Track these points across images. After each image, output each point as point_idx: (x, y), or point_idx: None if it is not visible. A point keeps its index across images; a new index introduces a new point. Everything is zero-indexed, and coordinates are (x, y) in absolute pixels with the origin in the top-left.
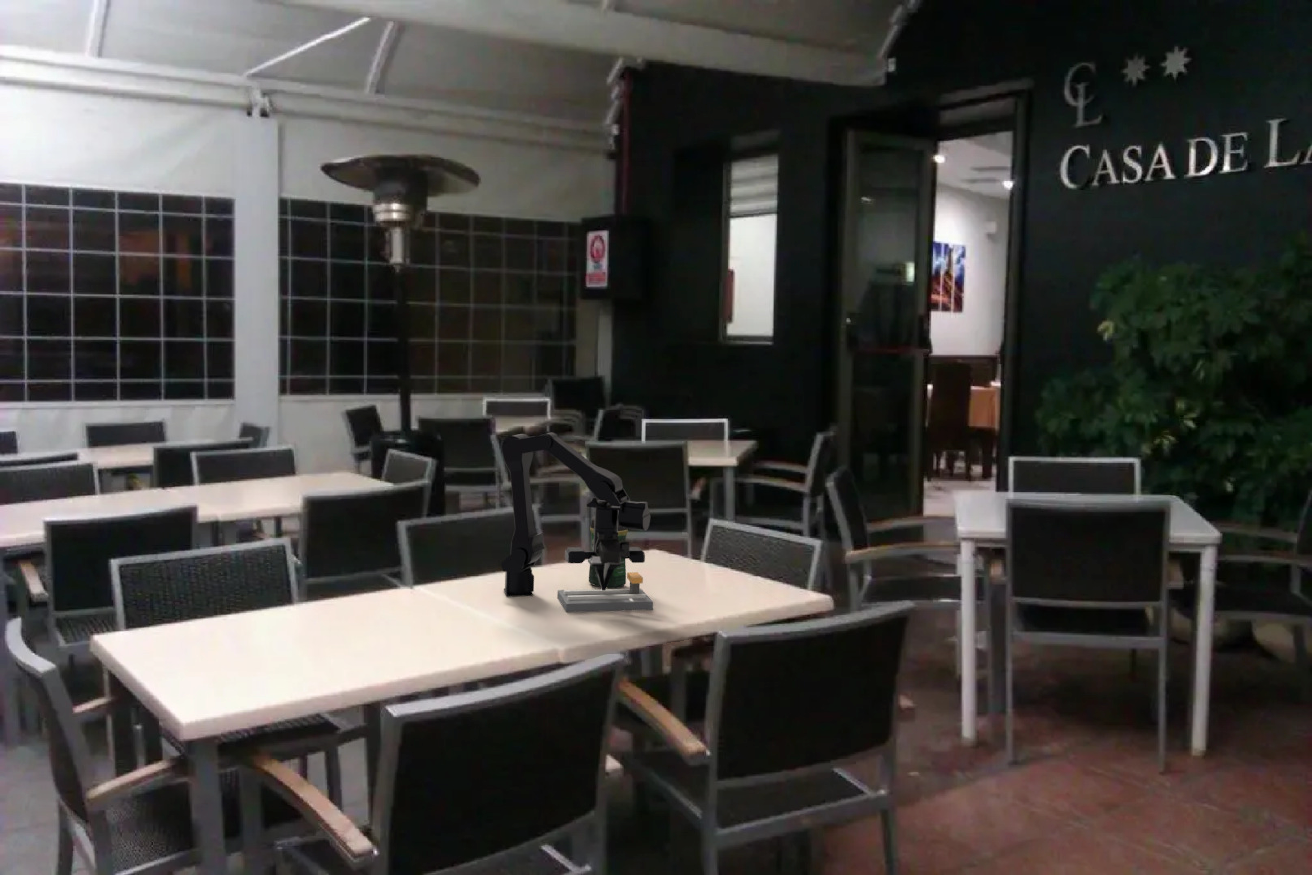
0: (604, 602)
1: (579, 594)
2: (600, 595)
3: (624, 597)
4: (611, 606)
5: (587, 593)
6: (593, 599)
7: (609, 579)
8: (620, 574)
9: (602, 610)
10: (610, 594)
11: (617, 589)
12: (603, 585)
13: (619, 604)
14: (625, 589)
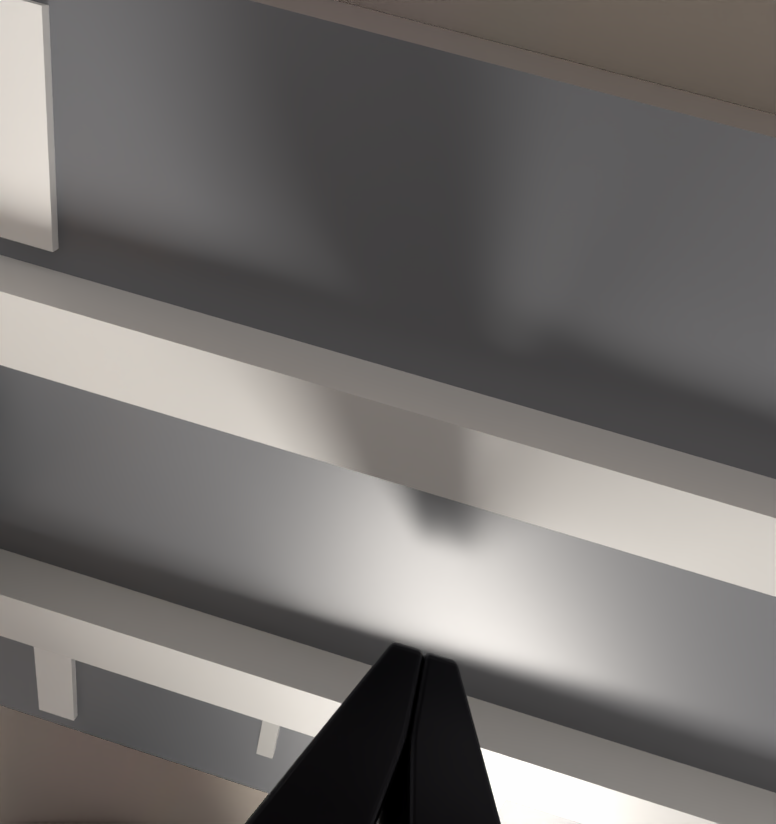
0: (694, 153)
1: (759, 777)
2: (590, 502)
3: (121, 301)
4: (535, 61)
5: (622, 753)
6: (759, 467)
7: (256, 814)
8: None
9: (723, 103)
10: (288, 595)
11: (130, 664)
12: (430, 727)
13: (347, 15)
14: (11, 618)
